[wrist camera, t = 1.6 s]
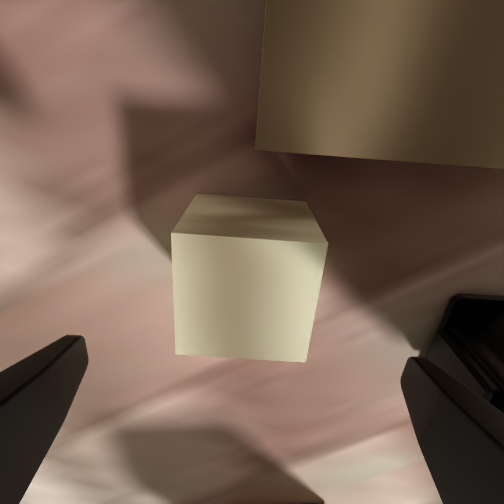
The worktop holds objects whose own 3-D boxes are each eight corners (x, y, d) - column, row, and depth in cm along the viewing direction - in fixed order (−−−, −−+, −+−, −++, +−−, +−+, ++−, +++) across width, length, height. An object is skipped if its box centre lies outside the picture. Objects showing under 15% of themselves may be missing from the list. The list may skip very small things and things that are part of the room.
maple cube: (305, 200, 15) (328, 243, 10) (291, 292, 17) (305, 362, 12) (197, 192, 14) (170, 232, 10) (197, 286, 16) (175, 354, 12)
